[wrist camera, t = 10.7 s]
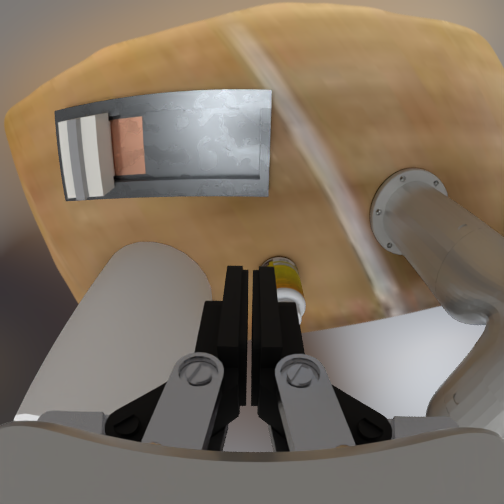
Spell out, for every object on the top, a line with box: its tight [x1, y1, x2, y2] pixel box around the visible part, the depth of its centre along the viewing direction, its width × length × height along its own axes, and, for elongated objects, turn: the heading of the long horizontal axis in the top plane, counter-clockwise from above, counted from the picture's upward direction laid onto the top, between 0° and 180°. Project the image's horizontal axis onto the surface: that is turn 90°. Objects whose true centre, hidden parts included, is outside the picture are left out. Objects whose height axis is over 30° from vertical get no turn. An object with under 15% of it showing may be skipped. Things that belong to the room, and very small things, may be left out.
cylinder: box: [14, 242, 212, 421], centre depth 32 cm, size 17×17×28 cm
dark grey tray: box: [55, 89, 272, 201], centre depth 33 cm, size 26×12×3 cm, turn 89°
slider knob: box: [58, 113, 115, 200], centre depth 30 cm, size 5×9×6 cm, turn 179°
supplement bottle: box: [262, 257, 306, 324], centre depth 38 cm, size 6×6×10 cm
